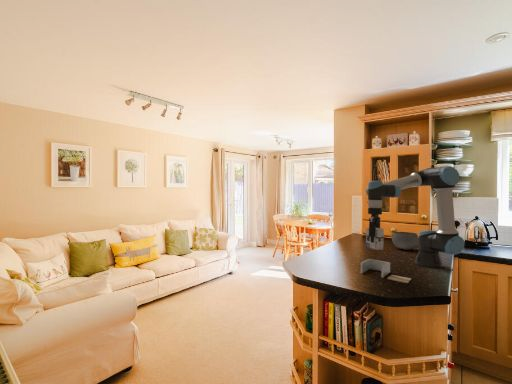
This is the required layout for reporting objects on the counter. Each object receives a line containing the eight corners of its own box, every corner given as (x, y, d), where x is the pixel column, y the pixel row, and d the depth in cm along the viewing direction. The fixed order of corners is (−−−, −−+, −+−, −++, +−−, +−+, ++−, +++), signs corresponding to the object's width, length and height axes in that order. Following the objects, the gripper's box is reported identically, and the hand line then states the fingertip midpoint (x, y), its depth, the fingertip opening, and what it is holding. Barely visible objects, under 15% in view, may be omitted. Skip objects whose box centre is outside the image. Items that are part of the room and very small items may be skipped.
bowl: (422, 250, 232) (423, 233, 232) (411, 252, 220) (411, 234, 221) (399, 246, 249) (399, 230, 249) (386, 248, 237) (387, 231, 238)
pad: (391, 275, 153) (391, 274, 153) (411, 279, 147) (411, 278, 147) (387, 279, 146) (387, 278, 146) (407, 283, 140) (407, 282, 140)
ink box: (365, 247, 159) (365, 227, 159) (371, 246, 161) (371, 226, 161) (377, 249, 151) (378, 228, 151) (383, 249, 153) (384, 228, 153)
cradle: (368, 268, 168) (368, 258, 168) (390, 272, 160) (390, 262, 160) (360, 273, 157) (360, 262, 157) (383, 277, 149) (383, 266, 149)
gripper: (373, 206, 166) (373, 244, 166) (362, 207, 151) (362, 248, 151) (386, 207, 161) (386, 245, 161) (376, 208, 146) (376, 250, 146)
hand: (374, 247), depth 156 cm, fingers closed on ink box, 7 cm apart
